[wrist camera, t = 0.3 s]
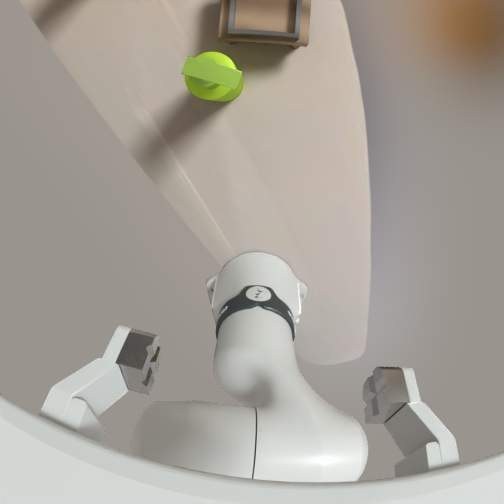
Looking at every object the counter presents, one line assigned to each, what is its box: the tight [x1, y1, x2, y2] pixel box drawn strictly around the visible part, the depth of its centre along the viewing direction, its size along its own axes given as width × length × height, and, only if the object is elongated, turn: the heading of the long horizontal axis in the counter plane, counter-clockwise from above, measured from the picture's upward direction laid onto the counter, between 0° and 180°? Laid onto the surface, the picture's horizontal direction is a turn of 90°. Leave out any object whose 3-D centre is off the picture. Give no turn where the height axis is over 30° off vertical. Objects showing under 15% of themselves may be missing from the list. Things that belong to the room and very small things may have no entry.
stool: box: [218, 0, 311, 48], centre depth 33 cm, size 11×12×8 cm
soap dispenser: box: [181, 52, 243, 102], centre depth 33 cm, size 6×7×20 cm
